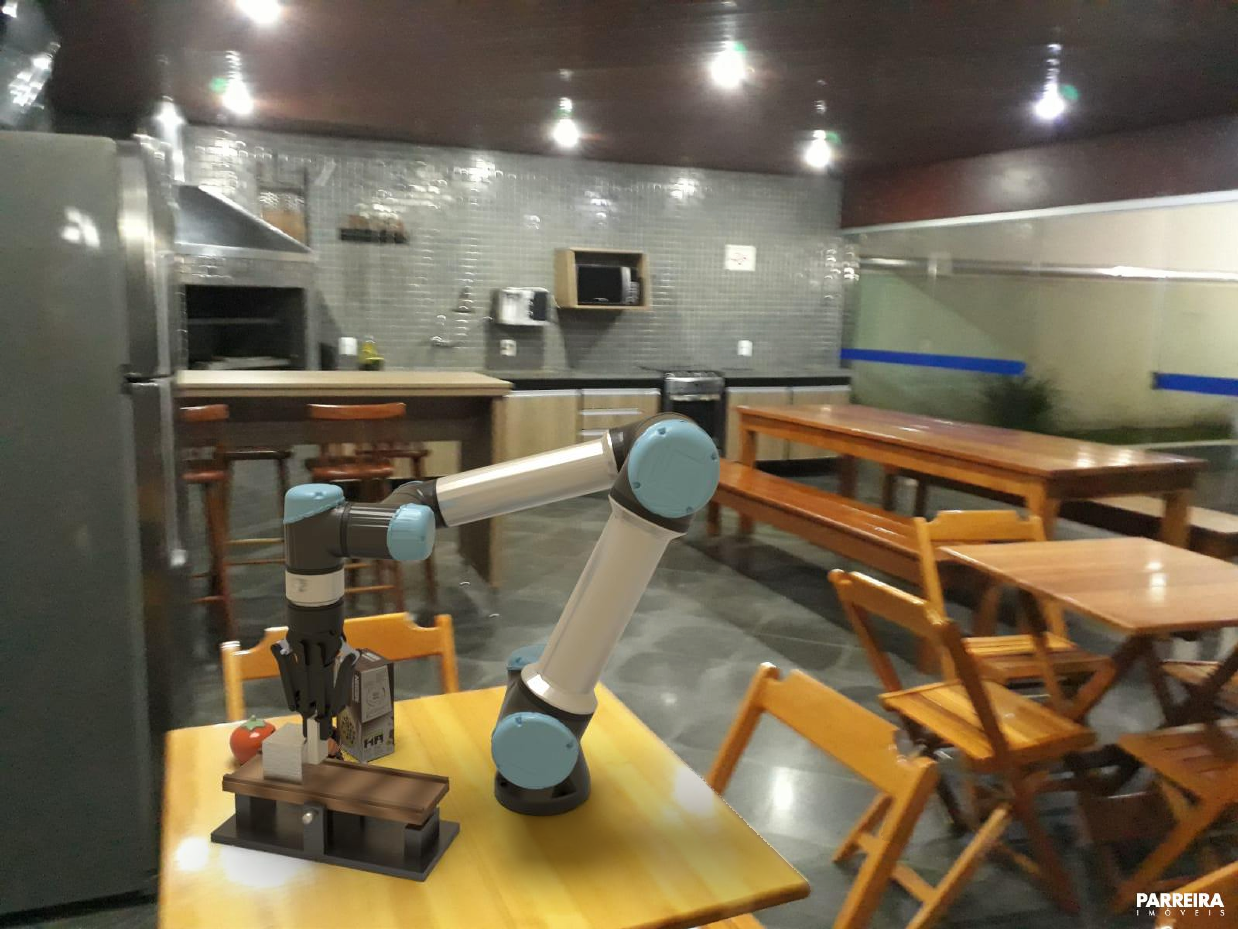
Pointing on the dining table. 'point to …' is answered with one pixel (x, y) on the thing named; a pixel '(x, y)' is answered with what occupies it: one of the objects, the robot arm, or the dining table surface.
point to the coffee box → (368, 708)
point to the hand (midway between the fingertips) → (318, 759)
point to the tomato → (249, 738)
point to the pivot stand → (338, 836)
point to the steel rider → (288, 756)
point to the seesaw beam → (349, 789)
